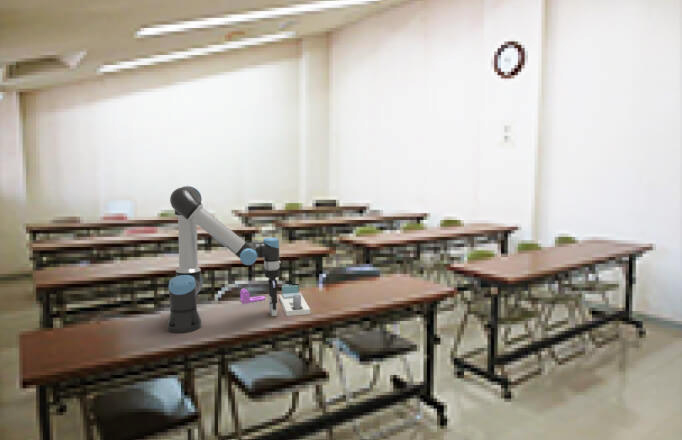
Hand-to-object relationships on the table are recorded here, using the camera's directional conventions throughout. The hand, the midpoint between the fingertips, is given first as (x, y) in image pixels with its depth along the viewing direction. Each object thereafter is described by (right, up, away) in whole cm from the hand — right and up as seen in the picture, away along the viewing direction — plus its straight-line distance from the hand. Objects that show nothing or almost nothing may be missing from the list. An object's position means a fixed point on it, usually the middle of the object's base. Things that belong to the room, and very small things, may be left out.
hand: (273, 313), depth 237 cm
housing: (+9, +1, +13) cm, 15 cm away
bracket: (-14, +2, +23) cm, 27 cm away
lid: (+6, +5, +22) cm, 23 cm away
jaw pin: (0, 0, 0) cm, 0 cm away
